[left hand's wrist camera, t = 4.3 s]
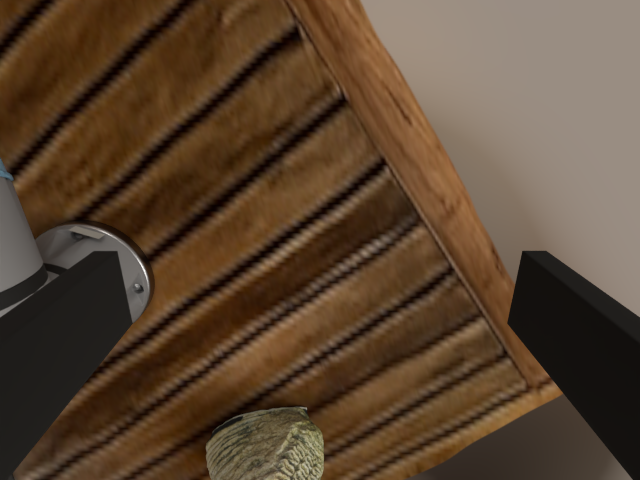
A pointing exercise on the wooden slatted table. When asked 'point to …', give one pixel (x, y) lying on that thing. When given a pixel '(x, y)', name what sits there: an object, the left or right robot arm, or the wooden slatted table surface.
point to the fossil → (266, 447)
